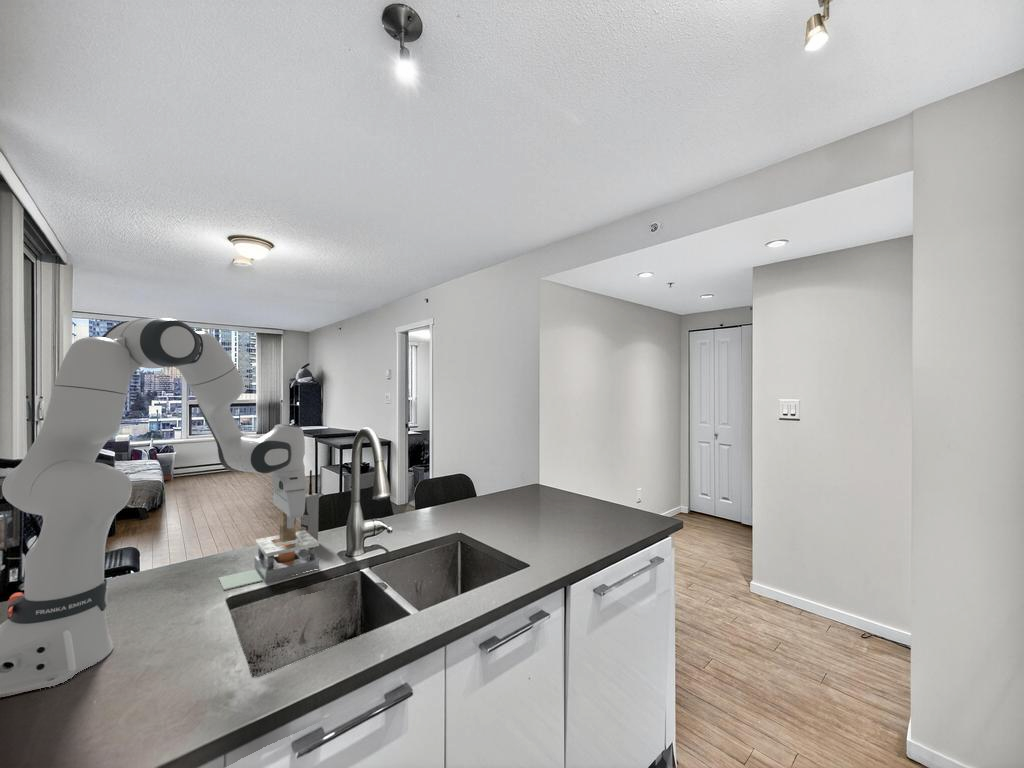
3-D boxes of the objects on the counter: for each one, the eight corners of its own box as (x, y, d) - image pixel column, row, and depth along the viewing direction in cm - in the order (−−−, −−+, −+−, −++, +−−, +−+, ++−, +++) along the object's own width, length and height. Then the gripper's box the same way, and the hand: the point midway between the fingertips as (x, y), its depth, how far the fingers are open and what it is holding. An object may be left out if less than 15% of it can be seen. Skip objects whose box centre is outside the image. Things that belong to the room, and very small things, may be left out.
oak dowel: (282, 542, 131) (283, 511, 131) (279, 539, 133) (279, 508, 133) (295, 539, 133) (295, 509, 133) (292, 536, 136) (292, 506, 136)
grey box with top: (265, 582, 123) (266, 553, 123) (254, 566, 134) (254, 539, 134) (318, 569, 132) (319, 542, 132) (304, 555, 143) (304, 530, 143)
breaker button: (280, 563, 130) (280, 549, 130) (276, 559, 133) (276, 545, 133) (296, 560, 133) (296, 546, 133) (292, 555, 136) (292, 542, 136)
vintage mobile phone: (297, 545, 152) (299, 470, 152) (310, 540, 156) (312, 468, 156) (305, 547, 150) (306, 472, 150) (318, 542, 154) (319, 469, 154)
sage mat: (223, 590, 118) (223, 589, 118) (218, 579, 125) (218, 577, 125) (262, 581, 124) (262, 579, 124) (255, 570, 131) (255, 569, 131)
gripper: (267, 474, 139) (267, 519, 139) (285, 486, 123) (285, 537, 123) (289, 471, 143) (289, 515, 143) (309, 483, 127) (309, 532, 127)
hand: (287, 525), depth 133 cm, fingers closed on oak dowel, 3 cm apart
